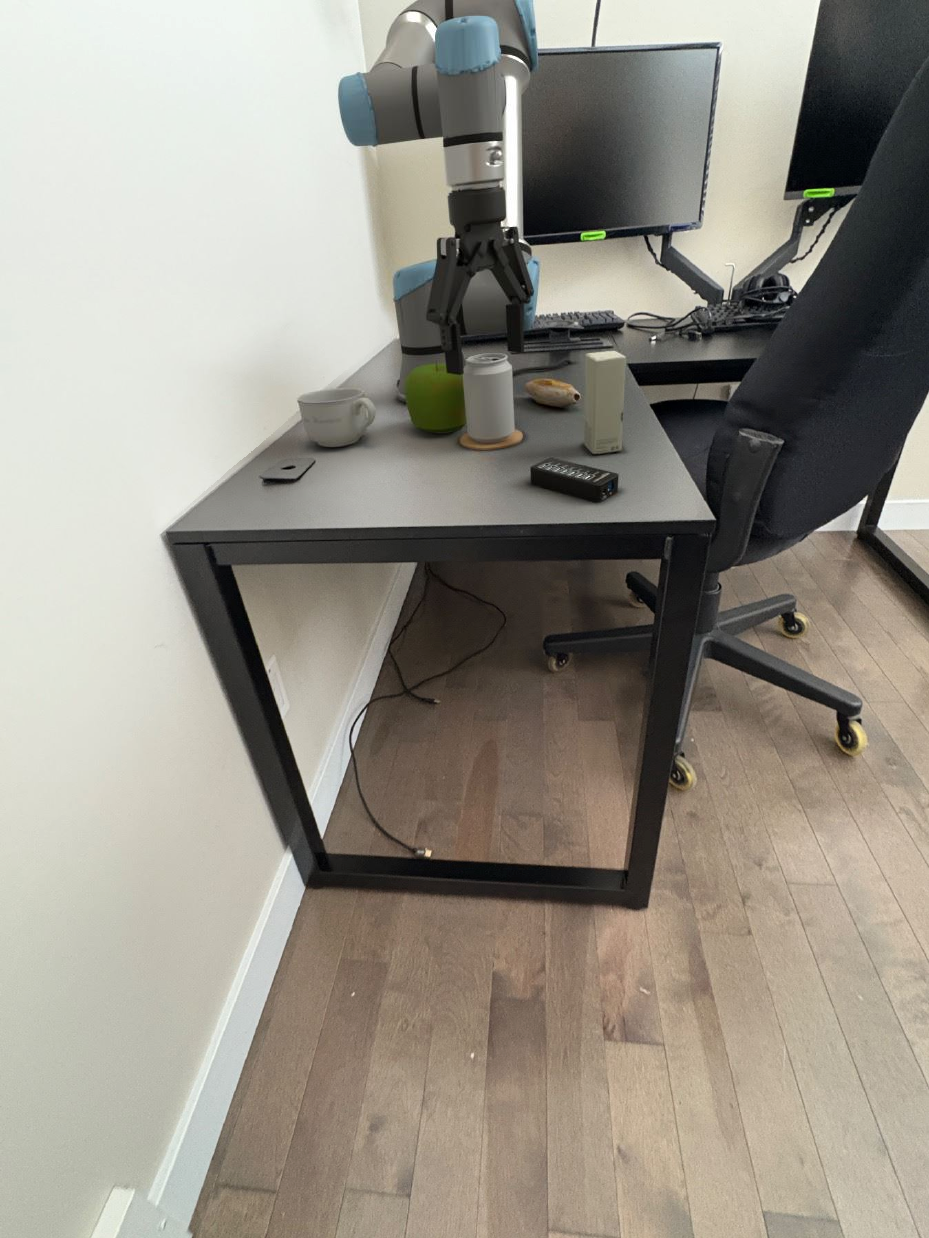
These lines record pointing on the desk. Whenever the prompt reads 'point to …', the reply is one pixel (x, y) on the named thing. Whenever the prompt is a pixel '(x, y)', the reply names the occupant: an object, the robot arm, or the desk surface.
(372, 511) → the desk surface
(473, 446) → the coaster
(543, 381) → the beige elongated hollow pod
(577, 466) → the multiport hub
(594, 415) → the box
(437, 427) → the apple
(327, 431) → the teacup
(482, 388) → the can
